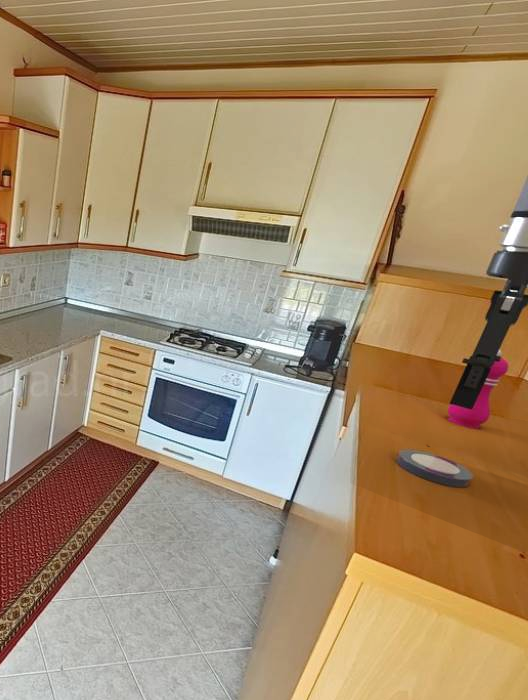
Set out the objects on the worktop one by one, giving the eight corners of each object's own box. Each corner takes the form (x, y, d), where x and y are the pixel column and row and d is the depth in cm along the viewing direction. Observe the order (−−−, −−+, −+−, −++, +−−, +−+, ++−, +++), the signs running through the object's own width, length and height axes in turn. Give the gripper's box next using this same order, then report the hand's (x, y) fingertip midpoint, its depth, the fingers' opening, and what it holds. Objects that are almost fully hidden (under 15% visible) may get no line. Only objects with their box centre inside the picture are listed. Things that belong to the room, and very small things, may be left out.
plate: (471, 475, 92) (475, 467, 91) (466, 494, 84) (470, 485, 84) (401, 451, 99) (404, 444, 98) (390, 467, 91) (394, 459, 91)
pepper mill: (474, 439, 110) (514, 354, 103) (435, 425, 116) (471, 345, 109) (484, 434, 114) (524, 352, 107) (447, 421, 120) (482, 343, 113)
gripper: (499, 249, 78) (440, 383, 86) (492, 247, 65) (424, 405, 73) (565, 256, 73) (497, 398, 81) (573, 255, 60) (491, 424, 68)
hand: (463, 401), depth 77 cm, fingers open, 6 cm apart
